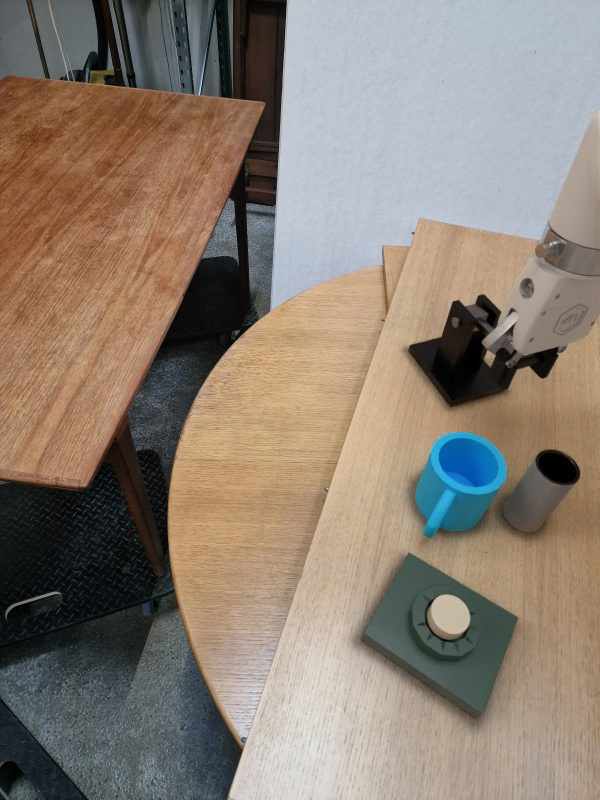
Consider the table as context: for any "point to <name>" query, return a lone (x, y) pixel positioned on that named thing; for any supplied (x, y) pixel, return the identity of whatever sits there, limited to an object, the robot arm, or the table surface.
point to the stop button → (448, 617)
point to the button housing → (432, 655)
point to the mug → (459, 482)
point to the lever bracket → (459, 355)
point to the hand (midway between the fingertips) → (517, 375)
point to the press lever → (525, 359)
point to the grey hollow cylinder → (541, 490)
